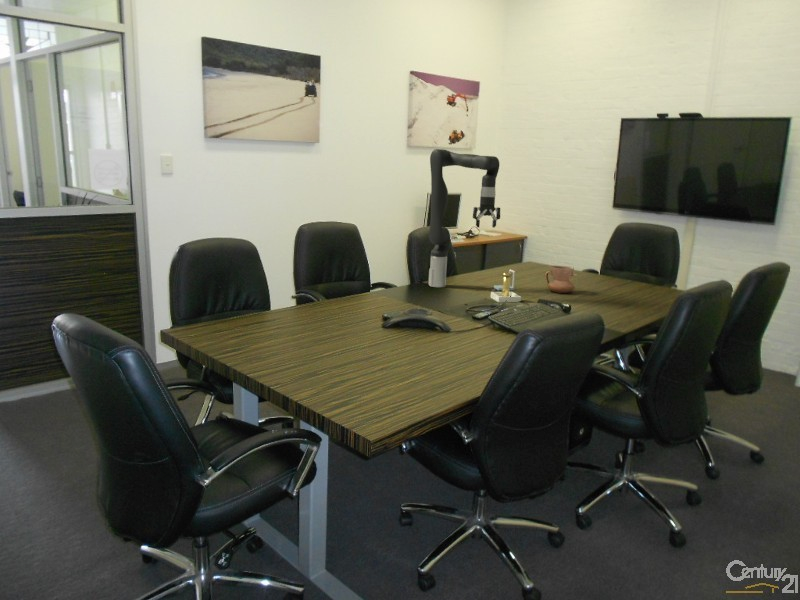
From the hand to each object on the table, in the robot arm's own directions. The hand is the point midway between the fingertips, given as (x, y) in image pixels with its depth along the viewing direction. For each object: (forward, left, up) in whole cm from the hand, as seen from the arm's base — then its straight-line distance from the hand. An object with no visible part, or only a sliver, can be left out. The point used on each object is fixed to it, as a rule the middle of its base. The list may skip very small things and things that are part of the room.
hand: (485, 227), depth 308 cm
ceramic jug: (+48, +6, -36) cm, 61 cm away
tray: (+9, -12, -36) cm, 39 cm away
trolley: (+12, -2, -36) cm, 38 cm away
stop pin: (+9, -12, -35) cm, 38 cm away
